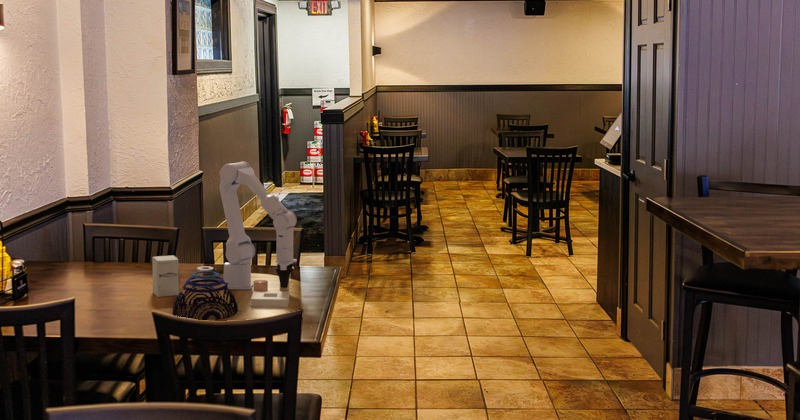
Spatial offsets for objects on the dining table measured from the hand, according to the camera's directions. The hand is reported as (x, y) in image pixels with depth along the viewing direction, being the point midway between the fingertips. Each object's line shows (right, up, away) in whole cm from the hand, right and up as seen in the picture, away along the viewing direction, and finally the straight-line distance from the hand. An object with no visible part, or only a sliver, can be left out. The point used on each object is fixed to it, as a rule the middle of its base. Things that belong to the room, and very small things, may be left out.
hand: (284, 285), depth 297 cm
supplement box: (-40, -3, -3) cm, 40 cm away
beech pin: (0, -3, +1) cm, 3 cm away
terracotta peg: (-8, -3, -2) cm, 9 cm away
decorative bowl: (-22, -7, -23) cm, 32 cm away
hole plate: (-3, -5, -10) cm, 12 cm away
